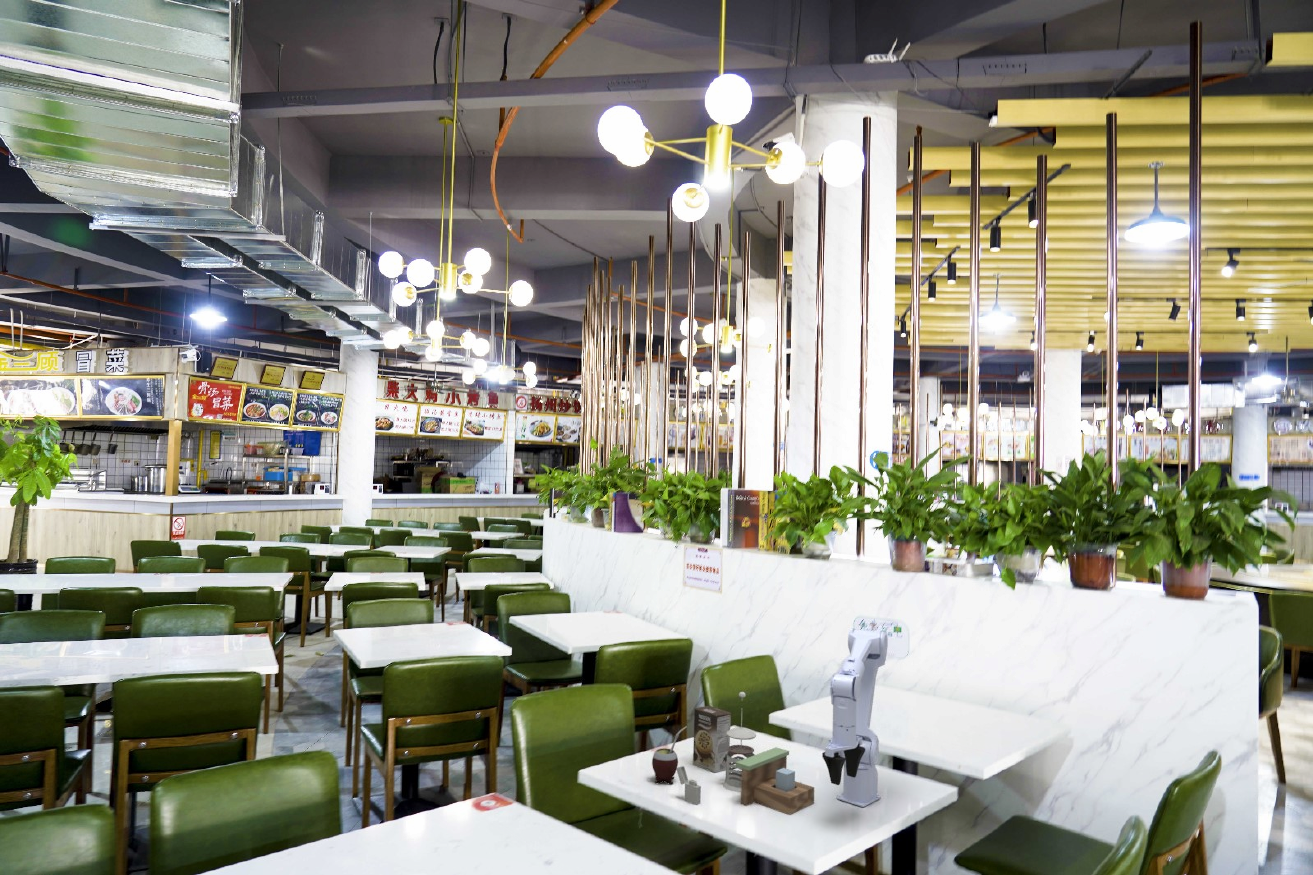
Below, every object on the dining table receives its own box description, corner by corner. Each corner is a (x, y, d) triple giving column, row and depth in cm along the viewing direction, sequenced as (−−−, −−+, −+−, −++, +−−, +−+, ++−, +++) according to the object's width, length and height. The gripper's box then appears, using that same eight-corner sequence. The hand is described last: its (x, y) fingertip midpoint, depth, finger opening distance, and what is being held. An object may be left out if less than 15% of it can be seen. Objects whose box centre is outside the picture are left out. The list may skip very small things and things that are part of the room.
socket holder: (775, 784, 226) (776, 747, 226) (821, 799, 216) (822, 760, 217) (734, 801, 213) (735, 762, 213) (781, 818, 203) (782, 777, 203)
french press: (756, 793, 219) (758, 697, 220) (713, 789, 221) (715, 694, 223) (759, 780, 229) (761, 689, 230) (717, 776, 231) (720, 685, 232)
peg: (783, 795, 216) (783, 767, 216) (794, 799, 213) (795, 771, 214) (775, 798, 213) (775, 771, 213) (786, 802, 211) (787, 774, 211)
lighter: (700, 803, 211) (701, 771, 212) (696, 805, 210) (697, 772, 211) (679, 795, 216) (680, 764, 217) (675, 797, 215) (676, 765, 215)
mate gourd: (646, 779, 227) (648, 724, 228) (668, 774, 232) (670, 719, 233) (663, 788, 221) (665, 731, 222) (686, 782, 226) (687, 726, 227)
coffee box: (691, 764, 240) (693, 708, 241) (707, 760, 244) (708, 704, 245) (714, 773, 233) (716, 715, 234) (730, 768, 238) (731, 711, 239)
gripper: (845, 715, 213) (844, 769, 212) (814, 726, 202) (813, 782, 202) (870, 721, 208) (869, 776, 207) (840, 732, 198) (839, 790, 197)
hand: (843, 780), depth 204 cm, fingers open, 7 cm apart
